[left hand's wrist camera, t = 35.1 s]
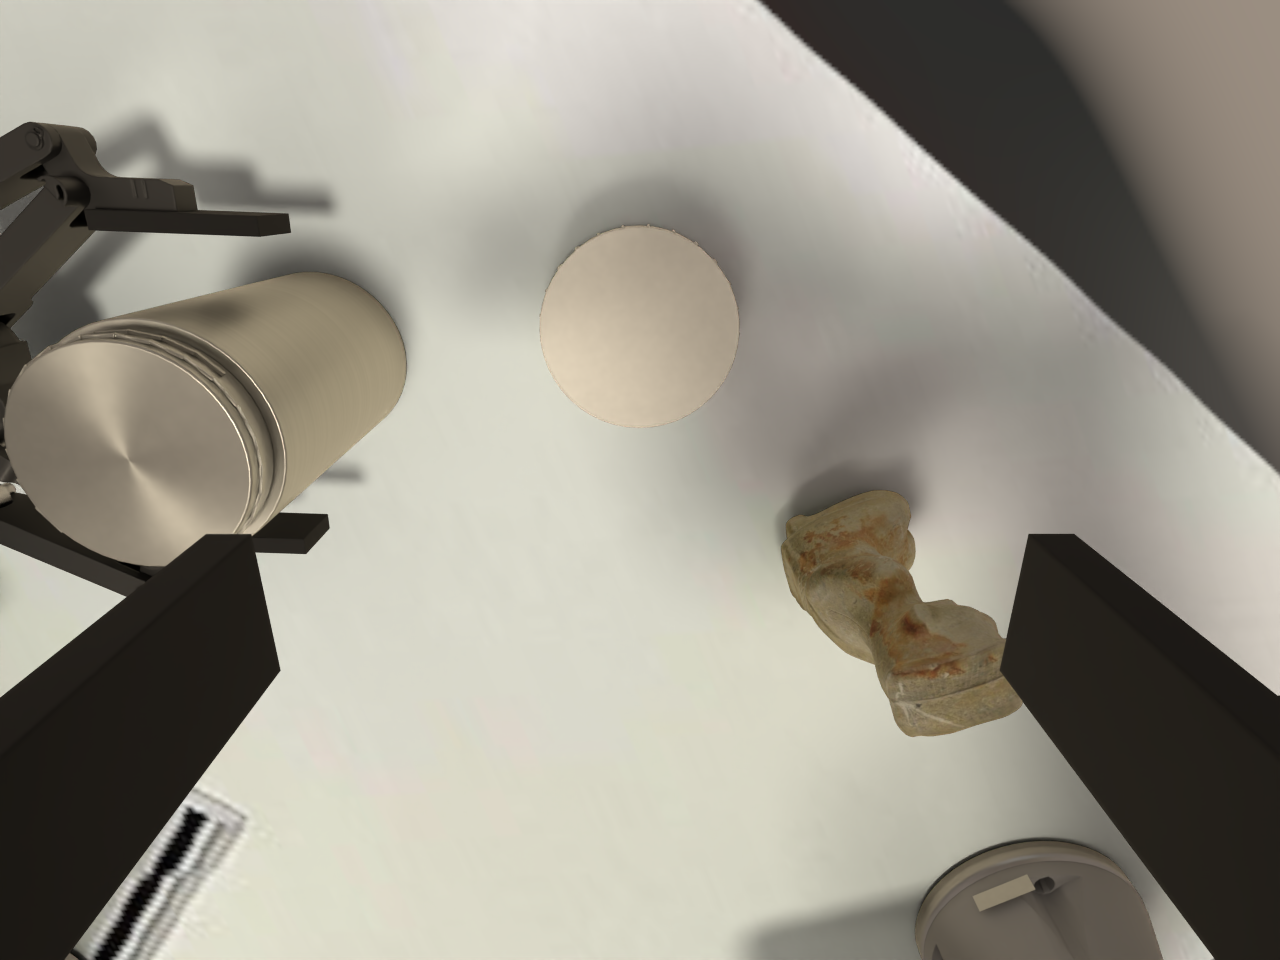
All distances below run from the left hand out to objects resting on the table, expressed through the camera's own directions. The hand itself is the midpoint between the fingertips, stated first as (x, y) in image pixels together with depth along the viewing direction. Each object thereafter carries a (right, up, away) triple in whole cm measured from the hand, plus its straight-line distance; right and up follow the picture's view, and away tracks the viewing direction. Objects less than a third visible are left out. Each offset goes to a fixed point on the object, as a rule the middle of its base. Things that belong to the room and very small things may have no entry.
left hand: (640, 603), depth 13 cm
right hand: (-15, +6, +19) cm, 25 cm away
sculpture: (+11, -1, +29) cm, 31 cm away
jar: (-16, +8, +25) cm, 31 cm away
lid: (0, +9, +23) cm, 25 cm away
